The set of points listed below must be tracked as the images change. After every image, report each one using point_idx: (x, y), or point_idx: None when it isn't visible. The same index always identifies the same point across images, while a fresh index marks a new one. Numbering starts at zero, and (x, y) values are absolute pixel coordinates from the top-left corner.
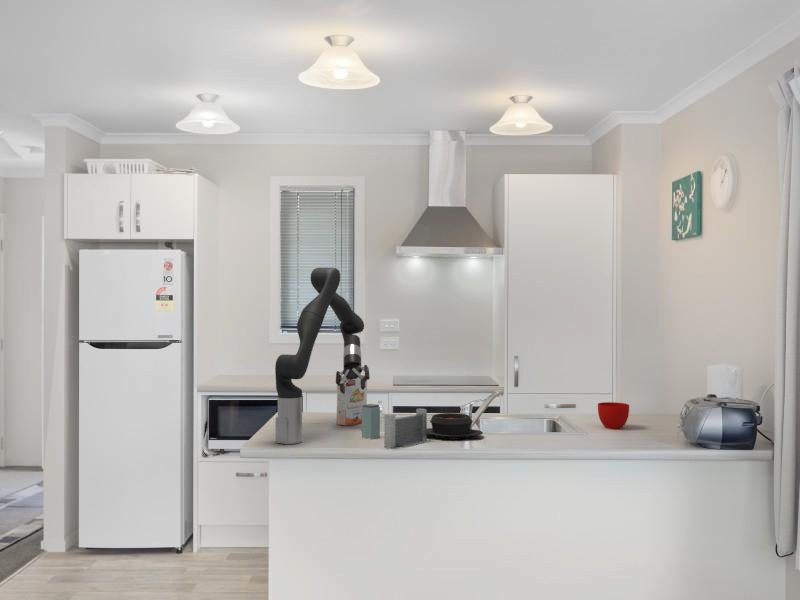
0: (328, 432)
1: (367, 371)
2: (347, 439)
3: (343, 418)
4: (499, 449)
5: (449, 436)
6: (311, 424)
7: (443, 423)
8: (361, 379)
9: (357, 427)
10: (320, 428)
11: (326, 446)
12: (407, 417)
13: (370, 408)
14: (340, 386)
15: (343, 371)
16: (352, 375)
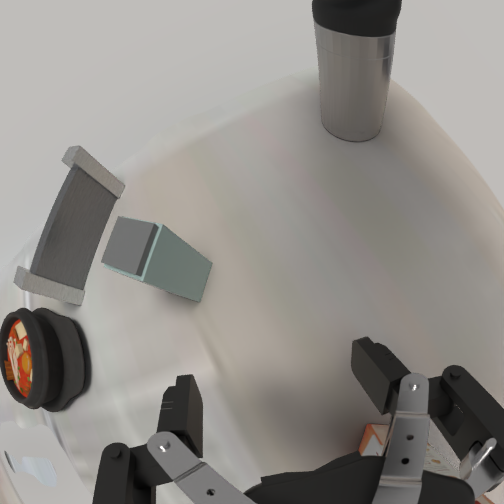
0: (361, 286)
1: (97, 498)
2: (237, 213)
3: (384, 432)
4: (6, 274)
5: (36, 309)
6: (481, 381)
7: (23, 309)
8: (182, 443)
9: (316, 426)
10: (427, 338)
11: (243, 125)
12: (49, 216)
13: (126, 217)
14: (402, 368)
15: (463, 493)
16: (303, 481)
